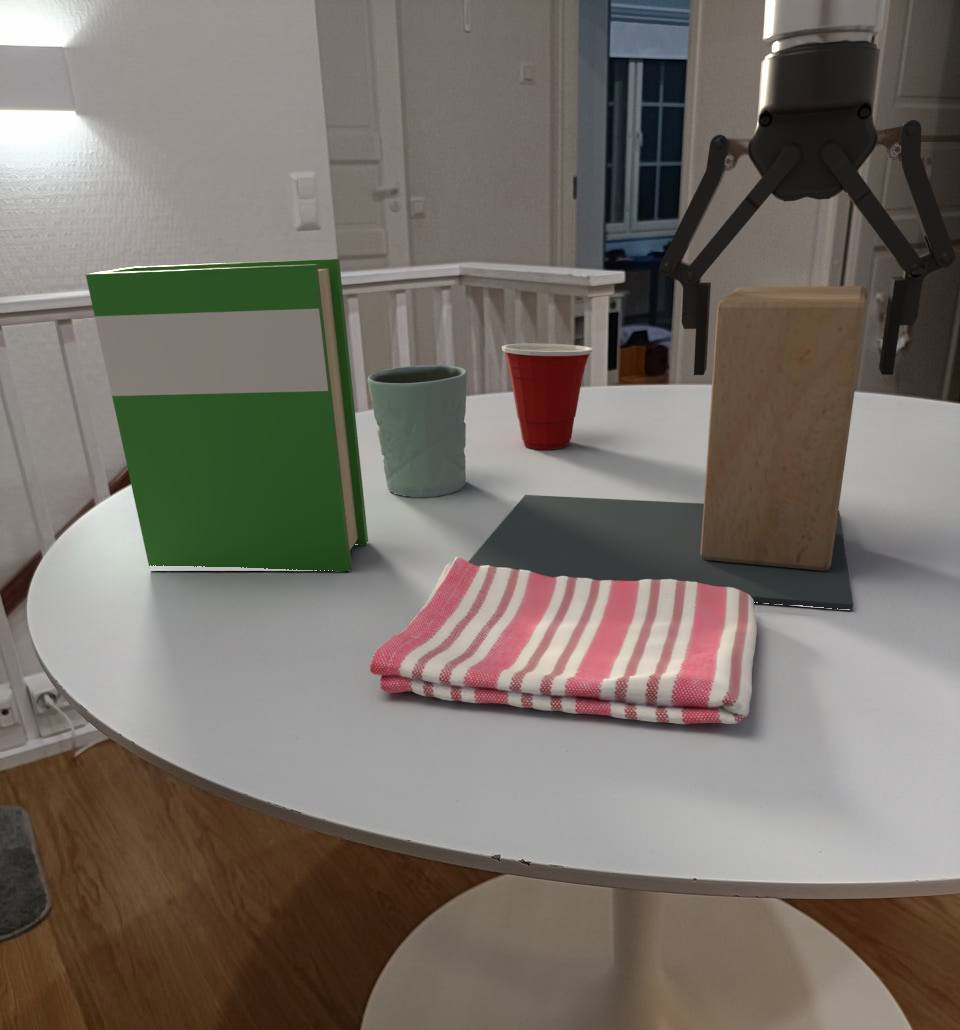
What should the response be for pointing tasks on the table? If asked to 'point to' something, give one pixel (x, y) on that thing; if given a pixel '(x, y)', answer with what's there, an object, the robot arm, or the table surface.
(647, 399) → the table surface
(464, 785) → the table surface
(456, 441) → the green ceramic cup
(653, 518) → the mat
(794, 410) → the wooden block
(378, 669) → the dish towel
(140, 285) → the hardback book
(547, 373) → the plastic cup
